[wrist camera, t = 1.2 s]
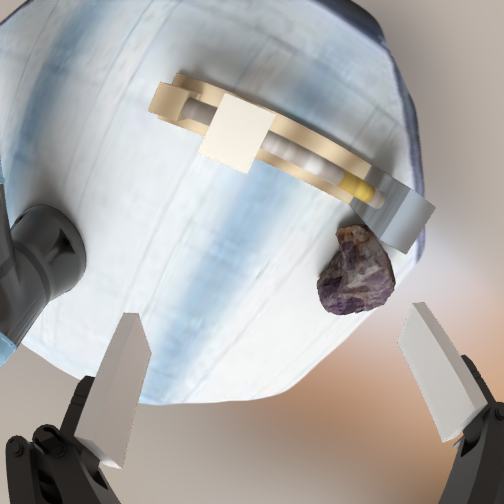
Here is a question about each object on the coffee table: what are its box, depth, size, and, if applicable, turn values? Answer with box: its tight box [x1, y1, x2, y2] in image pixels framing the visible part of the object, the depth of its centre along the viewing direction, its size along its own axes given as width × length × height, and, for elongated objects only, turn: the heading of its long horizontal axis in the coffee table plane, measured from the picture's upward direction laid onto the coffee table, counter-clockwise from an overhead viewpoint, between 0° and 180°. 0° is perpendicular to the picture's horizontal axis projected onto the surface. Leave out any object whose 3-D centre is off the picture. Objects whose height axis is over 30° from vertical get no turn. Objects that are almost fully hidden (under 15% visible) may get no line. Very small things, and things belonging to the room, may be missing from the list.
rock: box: [317, 224, 396, 315], centre depth 37 cm, size 12×9×10 cm
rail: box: [148, 73, 435, 254], centre depth 28 cm, size 30×6×11 cm, turn 65°
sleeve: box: [198, 93, 276, 174], centre depth 24 cm, size 4×5×9 cm
